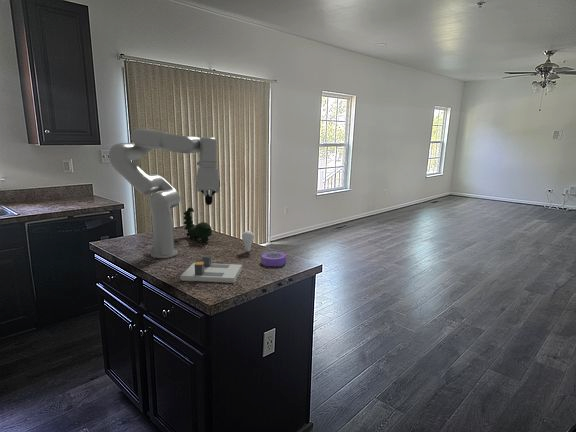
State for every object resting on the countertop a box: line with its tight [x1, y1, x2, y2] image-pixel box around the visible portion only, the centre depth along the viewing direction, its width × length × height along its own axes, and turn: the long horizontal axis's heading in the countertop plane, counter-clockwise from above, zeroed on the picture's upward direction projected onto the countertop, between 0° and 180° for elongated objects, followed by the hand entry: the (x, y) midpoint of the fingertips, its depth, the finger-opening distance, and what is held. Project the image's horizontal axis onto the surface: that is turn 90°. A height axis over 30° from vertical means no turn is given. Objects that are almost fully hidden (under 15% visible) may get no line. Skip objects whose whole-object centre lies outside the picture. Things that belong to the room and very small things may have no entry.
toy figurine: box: [183, 207, 213, 243], centre depth 204 cm, size 9×19×25 cm
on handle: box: [201, 254, 212, 266], centre depth 158 cm, size 3×3×4 cm
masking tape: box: [260, 251, 287, 268], centre depth 170 cm, size 12×12×4 cm
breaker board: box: [180, 262, 243, 284], centre depth 154 cm, size 22×16×2 cm
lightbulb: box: [241, 230, 255, 253], centre depth 185 cm, size 6×6×11 cm
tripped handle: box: [194, 261, 204, 275], centre depth 148 cm, size 3×3×4 cm
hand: (208, 204), depth 169 cm, fingers closed
